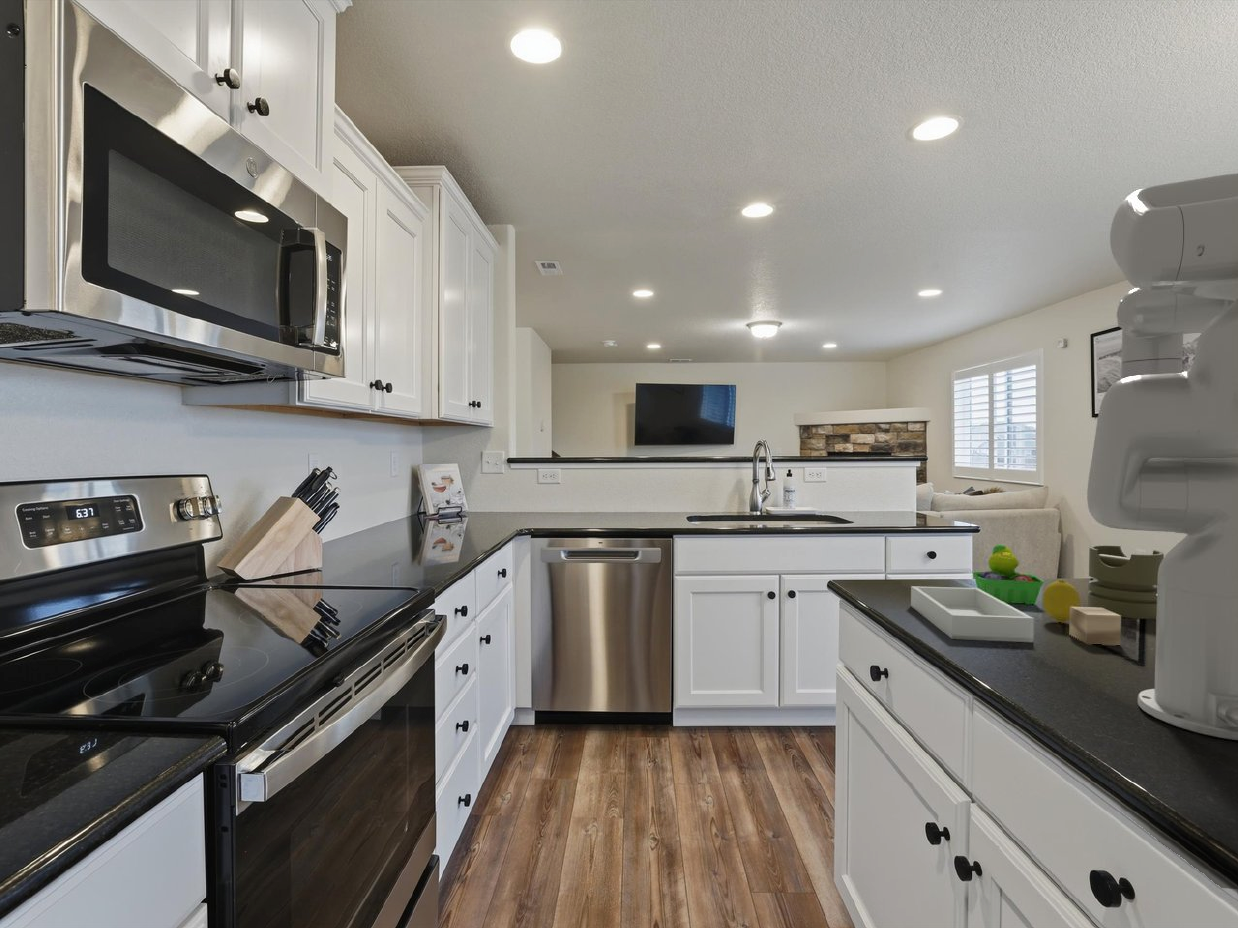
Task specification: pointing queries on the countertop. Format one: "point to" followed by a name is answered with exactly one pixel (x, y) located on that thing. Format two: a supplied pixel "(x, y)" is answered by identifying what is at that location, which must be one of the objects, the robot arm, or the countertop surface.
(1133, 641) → the countertop surface
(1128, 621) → the countertop surface
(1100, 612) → the cube
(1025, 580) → the fruit basket
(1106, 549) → the piston
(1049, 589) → the lemon
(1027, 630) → the tray
